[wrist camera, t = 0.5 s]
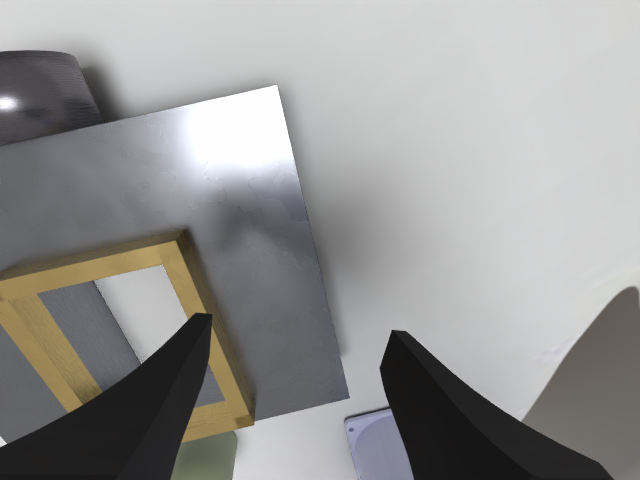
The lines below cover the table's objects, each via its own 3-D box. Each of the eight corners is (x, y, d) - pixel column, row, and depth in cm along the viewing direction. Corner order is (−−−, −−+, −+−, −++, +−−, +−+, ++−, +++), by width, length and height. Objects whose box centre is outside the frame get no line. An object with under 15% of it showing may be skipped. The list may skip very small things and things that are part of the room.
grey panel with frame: (340, 356, 26) (354, 417, 21) (71, 421, 25) (19, 499, 20) (263, 27, 17) (255, -7, 12) (-161, 119, 16) (-360, 125, 11)
